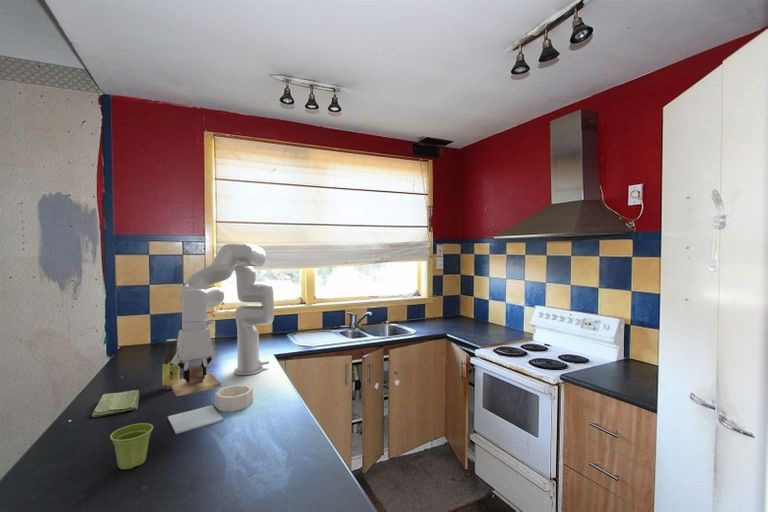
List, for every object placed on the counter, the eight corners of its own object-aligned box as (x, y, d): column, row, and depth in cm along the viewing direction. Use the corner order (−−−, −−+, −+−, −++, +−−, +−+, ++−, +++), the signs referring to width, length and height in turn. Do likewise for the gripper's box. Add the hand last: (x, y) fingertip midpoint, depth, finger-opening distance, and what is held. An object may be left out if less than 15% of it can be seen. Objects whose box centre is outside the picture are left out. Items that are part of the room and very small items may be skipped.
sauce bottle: (171, 391, 147) (171, 342, 146) (158, 389, 148) (158, 341, 148) (183, 385, 153) (183, 338, 153) (170, 384, 154) (170, 337, 154)
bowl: (245, 395, 142) (245, 382, 142) (256, 405, 133) (256, 391, 133) (212, 403, 135) (212, 390, 135) (222, 414, 126) (221, 400, 125)
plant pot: (124, 454, 101) (124, 423, 101) (160, 452, 102) (159, 422, 102) (101, 474, 92) (101, 441, 92) (140, 473, 92) (140, 439, 92)
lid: (210, 376, 131) (210, 359, 131) (220, 386, 121) (220, 368, 121) (169, 384, 122) (169, 366, 122) (176, 396, 112) (176, 376, 112)
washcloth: (90, 420, 122) (90, 411, 122) (100, 401, 137) (100, 393, 137) (137, 412, 128) (137, 403, 128) (141, 394, 144) (141, 386, 144)
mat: (211, 406, 132) (211, 405, 132) (223, 420, 121) (223, 418, 121) (167, 418, 123) (167, 416, 123) (175, 434, 112) (175, 432, 112)
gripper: (218, 320, 130) (218, 371, 130) (164, 326, 119) (164, 382, 119) (224, 323, 124) (224, 377, 124) (168, 330, 113) (168, 388, 113)
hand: (194, 378), depth 122 cm, fingers closed on lid, 4 cm apart
